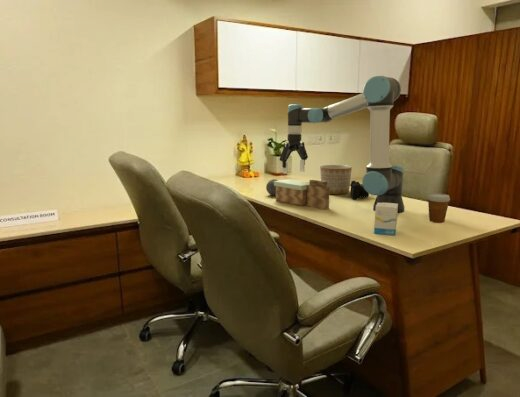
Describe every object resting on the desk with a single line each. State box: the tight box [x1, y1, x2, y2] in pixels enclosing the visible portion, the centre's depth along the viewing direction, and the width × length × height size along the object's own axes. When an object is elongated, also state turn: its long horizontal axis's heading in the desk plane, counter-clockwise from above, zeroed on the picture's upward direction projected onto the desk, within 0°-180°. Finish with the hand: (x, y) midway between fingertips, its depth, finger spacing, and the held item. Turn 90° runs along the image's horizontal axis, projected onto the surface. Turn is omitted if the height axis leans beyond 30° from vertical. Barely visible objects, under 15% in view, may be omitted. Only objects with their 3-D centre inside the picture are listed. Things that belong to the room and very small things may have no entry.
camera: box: [349, 180, 370, 201], centre depth 231 cm, size 14×11×10 cm
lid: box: [274, 178, 310, 190], centre depth 220 cm, size 21×11×2 cm, turn 42°
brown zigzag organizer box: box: [275, 185, 330, 210], centre depth 216 cm, size 34×9×12 cm, turn 42°
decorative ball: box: [265, 179, 280, 197], centre depth 241 cm, size 10×10×10 cm
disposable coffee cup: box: [426, 193, 451, 224], centre depth 179 cm, size 10×10×12 cm
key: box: [308, 179, 327, 187], centre depth 207 cm, size 10×2×2 cm, turn 42°
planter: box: [319, 164, 353, 196], centre depth 248 cm, size 19×19×16 cm
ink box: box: [373, 202, 398, 236], centre depth 163 cm, size 9×8×12 cm
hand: (293, 172), depth 219 cm, fingers open, 13 cm apart
